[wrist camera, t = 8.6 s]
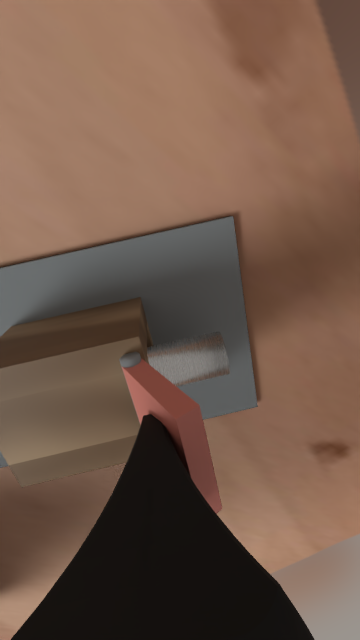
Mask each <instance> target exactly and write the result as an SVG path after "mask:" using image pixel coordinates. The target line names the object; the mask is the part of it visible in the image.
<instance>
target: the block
mask: <svg viewBox="0 0 360 640" xmlns="http://www.w3.org/2000/svg"><path fill="white" fill-rule="evenodd" d="M151 346H154V345H153V342H152V338H151V334H150V331H149V327H148V323H147V319H146V316H145V312H144V308H143V304H142V301H141V297H138V298H134V299H129V300H125V301H120V302H116V303H112V304H107V305H103V306H98V307H94V308H90V309H85V310H81V311H77V312H72V313H68V314H63V315H59V316H55V317H50V318H46V319H41V320H37V321H33V322H28V323H24V324H20V325H15V326H11V327H10V328H9V329H8V330H7V331H6V332H5V333H4V334H3V335H2V336H1V337H0V451H1V453H2V455H3V457H4V458H5V460H6V462H7V464H8V465H9V467H10V469H11V470H12V472H13V474H14V476H15V477H16V479H17V481H18V483H19V484H20V486H21V487H25V486H30V485H34V484H38V483H42V482H46V481H51V480H55V479H59V478H63V477H67V476H71V475H76V474H80V473H84V472H88V471H92V470H97V469H101V468H105V467H109V466H113V465H117V464H122V463H126V462H127V461H128V458H129V456H130V453H131V451H132V448H133V446H134V443H135V440H136V438H137V435H138V432H139V429H140V423H139V419H138V416H137V413H136V410H135V407H134V404H133V401H132V398H131V395H130V392H129V389H128V385H127V382H126V379H125V376H124V373H123V370H122V367H121V364H120V361H119V359H120V358H121V357H122V356H123V355H124V354H128V353H132V352H138V353H140V356H141V358H142V359H143V360H144V361H145V362H147V363H148V364H149V360H148V357H147V347H151ZM149 365H150V364H149Z"/></svg>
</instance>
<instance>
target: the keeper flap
mask: <svg viewBox="0 0 360 640" xmlns="http://www.w3.org/2000/svg"><path fill="white" fill-rule="evenodd" d="M119 361H120V364H121V367H122V370H123V373H124V376H125V379H126V382H127V385H128V389H129V392H130V395H131V398H132V401H133V404H134V407H135V410H136V413H137V416H138V419H139V423H140V426H141V422H142V419H143V416H144V415H148V414H151V415H153V416H154V417H156V418H157V419H158V420H159V421H161V422H162V424H163V425H164V426H165V427H166V429H167V432H168V434H169V437H170V440H171V442H172V444H173V446H174V448H175V450H176V452H177V454H178V456H179V458H180V460H181V462H182V464H183V465H184V467H185V469H186V471H187V472H188V474H189V476H190V477H191V479H192V480H193V482H194V484H195V485H196V487H197V488H198V490H199V491H200V492H201V494H202V495H203V497H204V498H205V500H206V501H207V502H208V504H209V505H210V506H211V508H212V509H213V510H214V512H215V513H216V514H217V513H218V512H219V511H220V510H221V509H222V505H221V500H220V496H219V491H218V487H217V482H216V478H215V473H214V468H213V464H212V459H211V455H210V450H209V446H208V441H207V437H206V432H205V428H204V423H203V418H202V414H201V409H200V405H199V404H198V403H196V402H195V401H194V400H193V399H191V398H190V397H189V396H188V395H186V394H185V393H184V392H183V391H181V390H180V389H179V388H178V387H176V386H175V385H174V384H173V383H171V382H170V381H169V380H168V379H167V378H165V377H164V376H163V375H162V374H160V373H159V372H158V371H157V370H155V369H154V368H153V367H152V366H150V365H149V364H148V363H147V362H145V361H144V360H143V359H142V358H141V356H140V353H138V352H132V353H128V354H124V355H123V356H122V357H121V358H120V359H119Z"/></svg>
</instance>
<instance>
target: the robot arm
mask: <svg viewBox="0 0 360 640" xmlns="http://www.w3.org/2000/svg"><path fill="white" fill-rule="evenodd" d="M11 640H314V638H313V636H312V634H311V633H310V631H309V629H308V628H307V626H306V624H305V623H304V621H303V619H302V618H301V616H300V615H299V613H298V611H297V610H296V608H295V607H294V605H293V604H292V603H291V601H290V600H289V598H288V597H287V595H286V594H285V592H284V591H283V589H282V587H281V586H280V584H279V583H278V582H277V581H276V580H275V579H274V578H273V577H272V576H271V575H270V574H269V573H268V572H267V571H266V570H265V569H264V568H263V567H262V566H261V565H260V564H259V563H258V562H257V561H256V559H255V558H254V557H253V556H252V555H251V554H250V553H249V552H248V551H247V550H246V549H245V547H244V546H243V545H242V544H241V543H240V542H239V541H238V540H237V539H236V537H235V536H234V535H233V534H232V533H231V531H230V530H229V529H228V528H227V526H226V525H225V524H224V523H223V522H222V520H221V519H220V518H219V517H218V516H217V514H216V513H215V512H214V510H213V509H212V508H211V506H210V505H209V504H208V502H207V501H206V500H205V498H204V497H203V495H202V494H201V492H200V491H199V490H198V488H197V487H196V485H195V484H194V482H193V480H192V479H191V477H190V476H189V474H188V472H187V471H186V469H185V467H184V465H183V464H182V462H181V460H180V458H179V456H178V454H177V452H176V450H175V448H174V446H173V444H172V442H171V440H170V437H169V434H168V432H167V429H166V427H165V426H164V425H163V424H162V422H161V421H159V420H158V419H157V418H156V417H154V416H153V415H151V414H148V415H144V416H143V419H142V422H141V426H140V429H139V432H138V435H137V438H136V440H135V443H134V446H133V448H132V451H131V453H130V456H129V458H128V461H127V463H126V465H125V468H124V470H123V472H122V474H121V476H120V478H119V480H118V483H117V485H116V487H115V489H114V491H113V493H112V495H111V497H110V499H109V501H108V502H107V504H106V506H105V508H104V510H103V512H102V513H101V515H100V517H99V518H98V520H97V522H96V524H95V525H94V527H93V528H92V530H91V532H90V533H89V535H88V536H87V538H86V540H85V541H84V543H83V544H82V546H81V548H80V549H79V551H78V552H77V554H76V555H75V557H74V558H73V559H72V561H71V562H70V564H69V565H68V566H67V568H66V569H65V571H64V572H63V573H62V575H61V576H60V577H59V579H58V580H57V582H56V583H55V584H54V586H53V587H52V588H51V590H50V591H49V592H48V594H47V595H46V597H45V598H44V599H43V601H42V602H41V603H40V604H39V606H38V607H37V608H36V610H35V611H34V612H33V613H32V614H31V616H30V617H29V618H28V619H27V620H26V622H25V623H24V624H23V625H22V626H21V628H20V629H19V630H18V631H17V633H16V634H15V635H14V636H13V637H12V639H11Z"/></svg>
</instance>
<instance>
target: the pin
mask: <svg viewBox="0 0 360 640" xmlns="http://www.w3.org/2000/svg"><path fill="white" fill-rule="evenodd" d="M147 357H148V360H149V364H150V366H152V367H153V368H154V369H155V370H157V371H158V372H159V373H160V374H162V375H163V376H164V377H165V378H167V379H168V380H169V381H170V382H171V383H173V384H174V385H175V386H176V387H177V386H181V385H185V384H190V383H194V382H198V381H203V380H207V379H211V378H215V377H220V376H224V375H228V374H230V367H229V361H228V356H227V352H226V348H225V344H224V341H223V338H222V336H221V334H220V332H219V331H216V332H212V333H207V334H203V335H199V336H195V337H190V338H186V339H182V340H177V341H173V342H169V343H164V344H160V345H156V346H151V347H147Z"/></svg>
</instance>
